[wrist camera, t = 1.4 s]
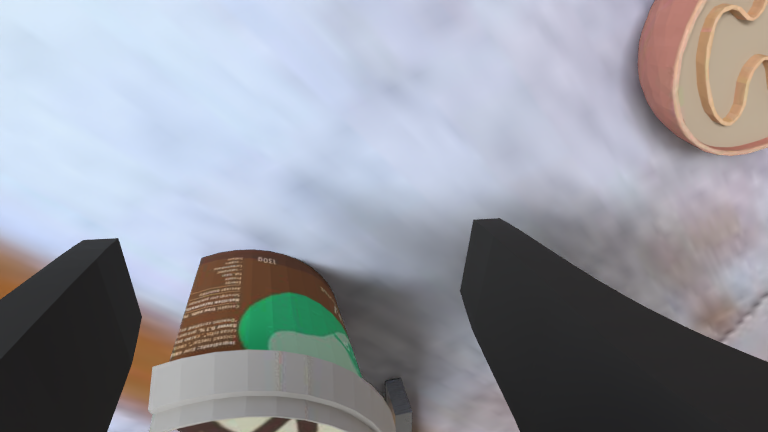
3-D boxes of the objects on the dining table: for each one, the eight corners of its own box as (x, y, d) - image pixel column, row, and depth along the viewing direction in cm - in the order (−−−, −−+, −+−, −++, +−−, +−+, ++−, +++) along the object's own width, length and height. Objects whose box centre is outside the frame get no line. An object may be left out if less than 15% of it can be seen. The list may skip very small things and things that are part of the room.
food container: (383, 360, 28) (439, 540, 19) (285, 397, 27) (298, 597, 19) (316, 187, 21) (355, 344, 13) (186, 232, 21) (137, 425, 12)
